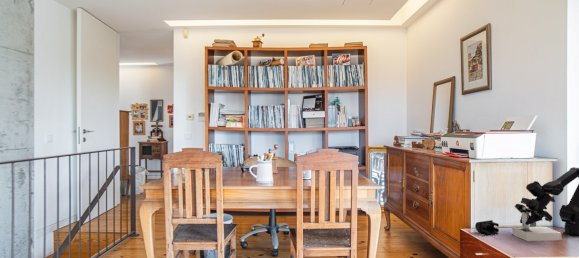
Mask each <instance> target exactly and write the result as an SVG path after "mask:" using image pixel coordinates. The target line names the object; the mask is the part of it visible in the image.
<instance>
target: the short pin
mask: <svg viewBox="0 0 579 258" xmlns="http://www.w3.org/2000/svg"><path fill="white" fill-rule="evenodd" d="M529 227H537V222H534V223H531V224H529Z"/></svg>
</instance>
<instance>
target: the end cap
mask: <svg viewBox="0 0 579 258" xmlns="http://www.w3.org/2000/svg"><path fill="white" fill-rule="evenodd" d="M499 225H500V224H499V223H496V222H494V221H493V219H491V220H490V219H489V220H483V221H477V222H475V225H474V227H475V230H476V231H477V232H478V233H479V234H480V235H483V236H486V237H488V236H495V234H496V235H499V232H500V229H499V228H496V227H499Z"/></svg>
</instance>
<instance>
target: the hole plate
mask: <svg viewBox="0 0 579 258" xmlns="http://www.w3.org/2000/svg"><path fill="white" fill-rule="evenodd" d="M511 231H512V232H511V233H512V236H515V237H517V238H520V239H522V240H524V241H526V242H548V241H549V242H551V241H554V242H555V241H563V240H562V232H559V231H558V230H554V229H552V228H549V227H546V226H536V227H530V226H529V232H524V231H522V226H519V227H518V226H517V227H511Z"/></svg>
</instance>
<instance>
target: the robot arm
mask: <svg viewBox="0 0 579 258" xmlns="http://www.w3.org/2000/svg"><path fill="white" fill-rule="evenodd" d="M575 179H579V167H574V166H573V167H570V168H569V170H568V171H566V172H565V173H563V174H562V175H561V176H559V177H558V178H556V179H555V180H552V181H548V182H546V183H544V184H543V185H541V184H540V182H539V181H536V180H535V181H533V182H530V183H529V184H526V187H525V189H526V190H527V191H528V192H529V193H530V194H531V195H532V196H533V197H535V198H531V199H530V198H526V197H522V198H521V201H520V203H516V204H515V205H514V208H515V209H516V210H517V211H518V212H519V213H521V214H522V212H528V213H529V218H528V220H527V221H526V223H525V224H526V225H529V226H530V224H531V223H534V222H536V223H537V222H540V221H541V222H542V221H543V219H544V220H545V221H547V222H549V223H551V222H552V220H553V216H552V214H550V213H549V212H548V211H547V209H548V207H547V206H548V205H549V203H550V202H552V203H555V202H556V199H555V196H560V195H561V194H562V193H563V191H564V189H565V187H566V186H567V185H569V184H570V183H571V182H573V181H574V180H575ZM551 195H552V196H551ZM559 217H560V221H561V222H563V223H564V231H562V233H563V234H566V235H569V236H572V237H579V183H578V184H577V186H576V189H575V190H574V193H573V194H572V197H571V198H570V200H569V202H568V204H562V205H561V207H560V209H559ZM519 223H520V224H522V215H521V216H520V220H519Z"/></svg>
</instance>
